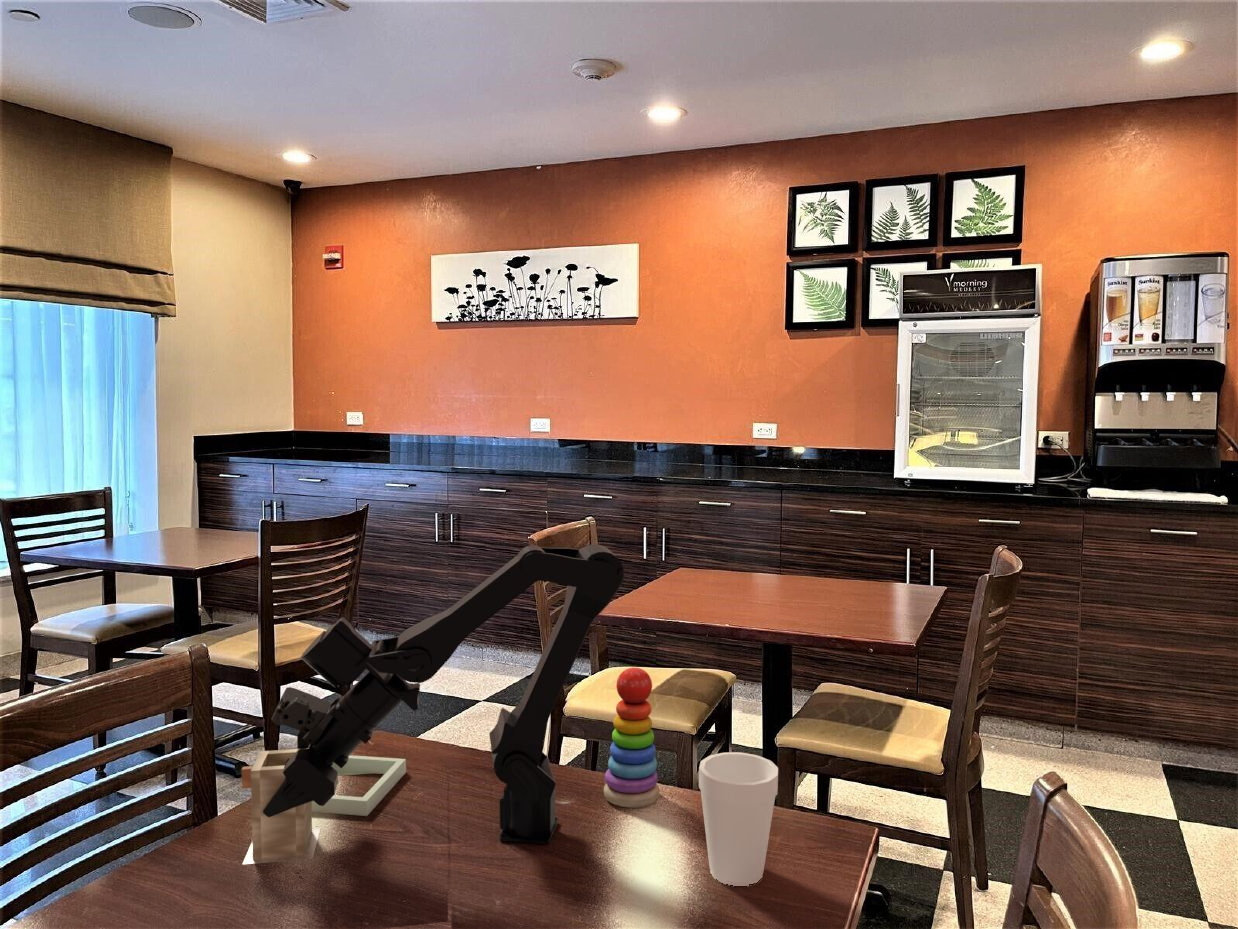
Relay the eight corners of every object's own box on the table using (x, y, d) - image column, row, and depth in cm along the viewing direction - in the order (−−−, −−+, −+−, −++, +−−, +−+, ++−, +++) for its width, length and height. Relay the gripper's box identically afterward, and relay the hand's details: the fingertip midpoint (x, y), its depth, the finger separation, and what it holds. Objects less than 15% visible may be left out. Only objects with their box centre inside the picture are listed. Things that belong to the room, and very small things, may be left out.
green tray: (406, 778, 133) (405, 759, 133) (366, 823, 119) (366, 801, 119) (329, 773, 135) (329, 754, 135) (282, 816, 121) (282, 794, 121)
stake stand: (321, 834, 116) (320, 801, 116) (312, 866, 108) (311, 830, 108) (256, 840, 115) (255, 806, 114) (242, 872, 107) (241, 836, 106)
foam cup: (725, 902, 102) (727, 791, 100) (682, 863, 110) (684, 761, 109) (792, 881, 106) (794, 775, 105) (746, 846, 114) (748, 747, 113)
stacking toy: (660, 811, 124) (661, 678, 122) (602, 810, 124) (603, 677, 122) (658, 786, 131) (660, 661, 130) (604, 785, 132) (605, 660, 130)
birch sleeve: (312, 831, 115) (310, 748, 114) (305, 855, 109) (303, 767, 108) (249, 836, 113) (247, 752, 113) (238, 860, 108) (236, 772, 107)
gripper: (323, 647, 120) (237, 733, 118) (301, 692, 101) (199, 794, 100) (384, 701, 122) (301, 786, 120) (374, 755, 103) (275, 856, 102)
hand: (270, 802), depth 111 cm, fingers closed on birch sleeve, 6 cm apart
